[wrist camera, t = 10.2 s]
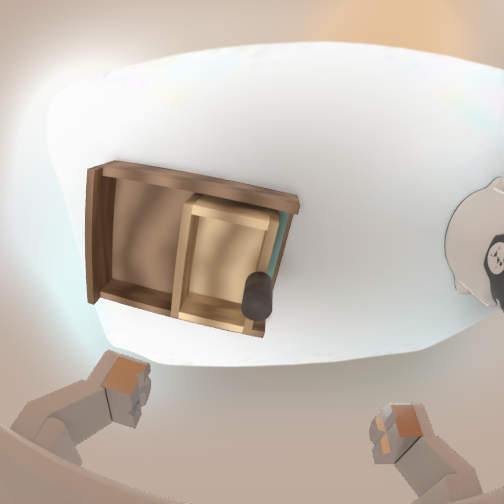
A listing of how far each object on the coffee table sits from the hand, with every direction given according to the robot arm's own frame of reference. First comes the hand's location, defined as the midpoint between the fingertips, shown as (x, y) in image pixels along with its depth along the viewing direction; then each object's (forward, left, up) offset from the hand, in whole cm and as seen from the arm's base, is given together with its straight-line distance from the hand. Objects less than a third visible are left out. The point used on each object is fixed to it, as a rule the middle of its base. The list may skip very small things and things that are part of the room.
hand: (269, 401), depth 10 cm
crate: (+4, +9, -30) cm, 31 cm away
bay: (+9, +9, -31) cm, 34 cm away
